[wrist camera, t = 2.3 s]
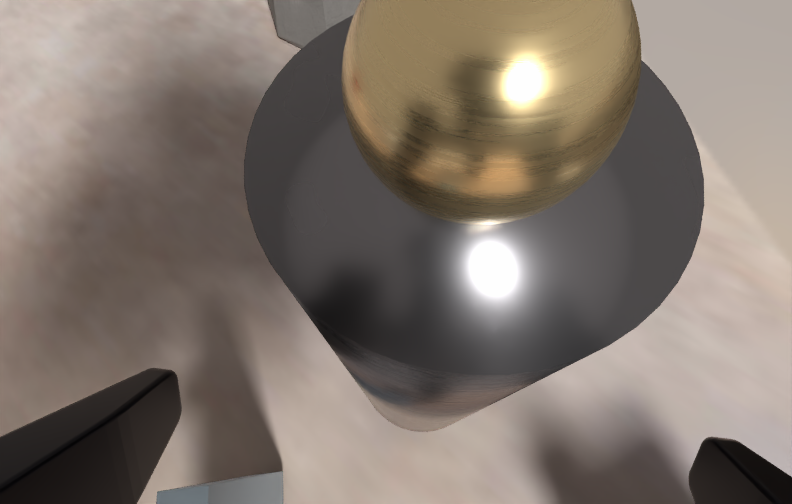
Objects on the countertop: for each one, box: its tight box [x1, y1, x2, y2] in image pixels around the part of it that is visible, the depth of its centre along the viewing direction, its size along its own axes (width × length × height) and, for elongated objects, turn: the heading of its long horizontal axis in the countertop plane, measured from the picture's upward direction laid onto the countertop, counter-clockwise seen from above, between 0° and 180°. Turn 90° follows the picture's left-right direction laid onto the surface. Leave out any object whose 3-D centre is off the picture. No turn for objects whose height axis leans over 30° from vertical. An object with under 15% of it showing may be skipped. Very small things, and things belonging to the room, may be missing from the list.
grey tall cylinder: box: [244, 0, 704, 432], centre depth 11 cm, size 5×5×17 cm
